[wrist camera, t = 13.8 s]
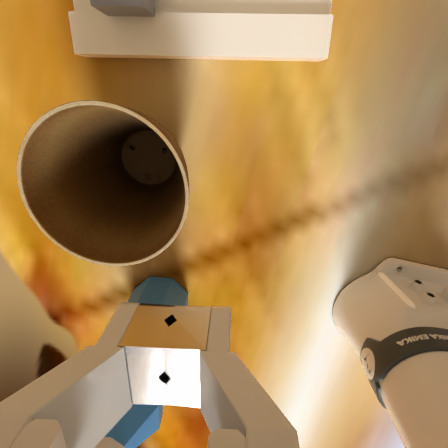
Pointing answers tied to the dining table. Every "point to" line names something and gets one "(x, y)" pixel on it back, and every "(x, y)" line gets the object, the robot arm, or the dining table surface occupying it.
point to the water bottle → (143, 413)
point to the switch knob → (125, 7)
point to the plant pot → (103, 182)
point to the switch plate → (207, 30)
